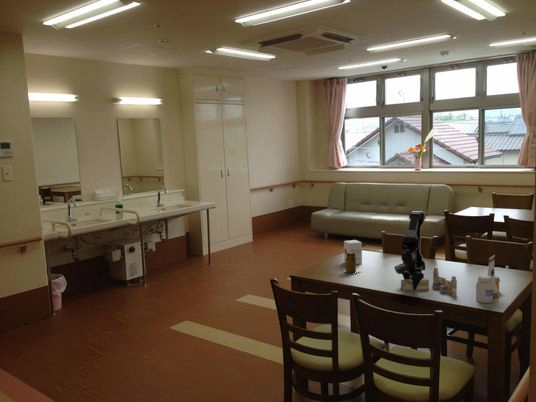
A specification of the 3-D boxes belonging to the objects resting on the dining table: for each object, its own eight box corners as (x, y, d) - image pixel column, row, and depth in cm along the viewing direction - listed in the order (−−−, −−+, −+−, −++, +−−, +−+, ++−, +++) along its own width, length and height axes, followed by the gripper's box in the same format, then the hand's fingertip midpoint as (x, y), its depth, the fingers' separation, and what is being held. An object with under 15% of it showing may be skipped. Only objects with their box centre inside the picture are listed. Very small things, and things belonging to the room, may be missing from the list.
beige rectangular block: (400, 288, 252) (400, 279, 251) (425, 286, 254) (425, 277, 254) (404, 290, 248) (404, 281, 248) (428, 288, 250) (428, 279, 250)
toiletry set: (490, 304, 223) (491, 262, 221) (473, 301, 228) (474, 260, 225) (503, 291, 242) (504, 252, 240) (488, 289, 247) (489, 251, 244)
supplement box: (343, 262, 313) (343, 240, 311) (355, 261, 316) (355, 239, 314) (350, 265, 304) (349, 243, 303) (362, 264, 307) (362, 241, 305)
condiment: (349, 270, 294) (349, 251, 292) (361, 272, 288) (360, 253, 287) (342, 272, 288) (342, 253, 287) (354, 274, 283) (354, 255, 281)
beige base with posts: (427, 285, 257) (427, 267, 255) (436, 284, 257) (436, 266, 256) (447, 296, 237) (447, 277, 236) (456, 295, 238) (457, 276, 236)
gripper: (389, 256, 257) (389, 283, 259) (404, 264, 238) (404, 293, 240) (408, 254, 259) (408, 282, 260) (424, 262, 240) (424, 291, 242)
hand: (410, 287), depth 251 cm, fingers open, 9 cm apart
